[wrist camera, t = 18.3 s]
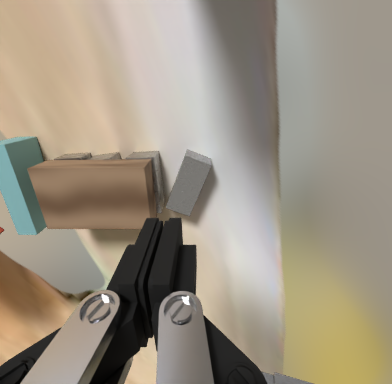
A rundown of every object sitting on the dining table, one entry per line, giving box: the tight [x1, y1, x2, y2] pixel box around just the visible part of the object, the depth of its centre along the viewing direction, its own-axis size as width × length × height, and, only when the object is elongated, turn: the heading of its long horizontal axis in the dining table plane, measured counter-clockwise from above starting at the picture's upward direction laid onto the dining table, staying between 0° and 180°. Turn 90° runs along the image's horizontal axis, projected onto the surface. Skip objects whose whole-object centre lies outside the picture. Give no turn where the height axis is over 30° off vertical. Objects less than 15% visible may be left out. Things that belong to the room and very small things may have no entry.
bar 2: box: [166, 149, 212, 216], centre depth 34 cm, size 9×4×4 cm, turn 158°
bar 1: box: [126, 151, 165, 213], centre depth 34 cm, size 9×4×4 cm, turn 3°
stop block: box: [0, 137, 47, 235], centre depth 34 cm, size 14×3×6 cm, turn 0°
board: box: [27, 159, 157, 229], centre depth 31 cm, size 9×15×4 cm, turn 91°
